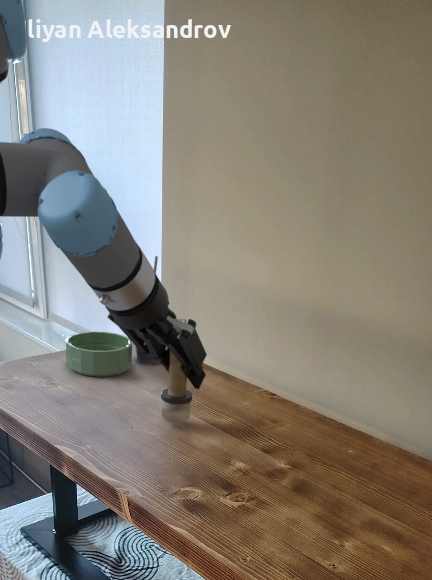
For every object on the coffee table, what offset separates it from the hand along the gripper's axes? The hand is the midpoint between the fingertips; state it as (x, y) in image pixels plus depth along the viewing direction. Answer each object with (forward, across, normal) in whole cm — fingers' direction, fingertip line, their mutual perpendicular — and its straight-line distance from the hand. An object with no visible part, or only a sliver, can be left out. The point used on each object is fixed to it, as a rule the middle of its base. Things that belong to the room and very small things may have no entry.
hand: (190, 378), depth 98 cm
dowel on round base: (+1, 0, -6) cm, 6 cm away
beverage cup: (+18, -21, +8) cm, 28 cm away
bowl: (+11, -25, +2) cm, 28 cm away
